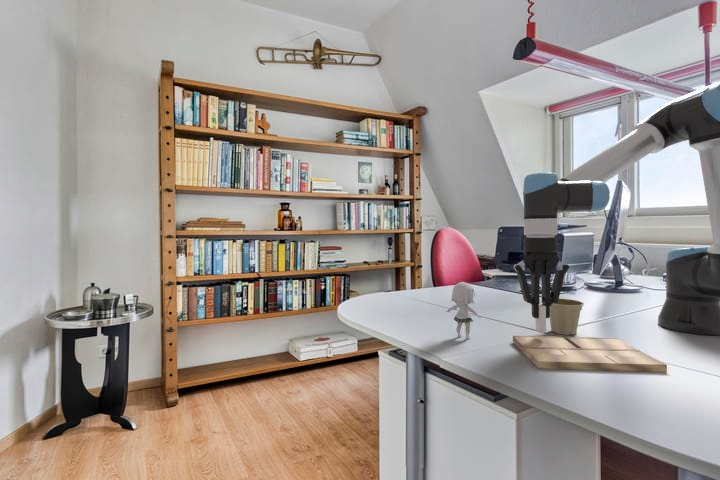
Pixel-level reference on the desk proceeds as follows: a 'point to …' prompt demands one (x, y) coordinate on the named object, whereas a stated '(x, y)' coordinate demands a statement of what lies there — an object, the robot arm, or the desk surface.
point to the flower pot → (565, 316)
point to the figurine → (463, 306)
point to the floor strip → (593, 359)
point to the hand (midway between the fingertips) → (540, 330)
